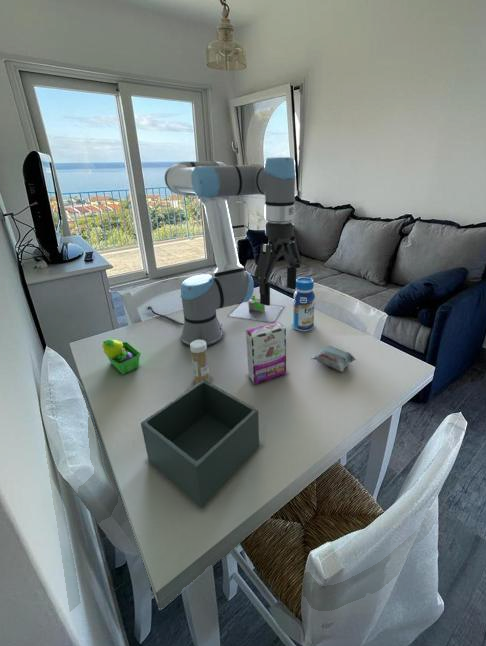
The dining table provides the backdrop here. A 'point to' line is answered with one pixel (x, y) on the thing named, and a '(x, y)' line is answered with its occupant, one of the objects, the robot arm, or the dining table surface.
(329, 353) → the packaged food
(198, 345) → the sprinkles bottle
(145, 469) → the dining table surface
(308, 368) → the dining table surface
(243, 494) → the dining table surface
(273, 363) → the candy bar box
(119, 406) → the dining table surface
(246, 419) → the grey storage bin
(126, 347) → the fruit basket
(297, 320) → the beverage bottle
